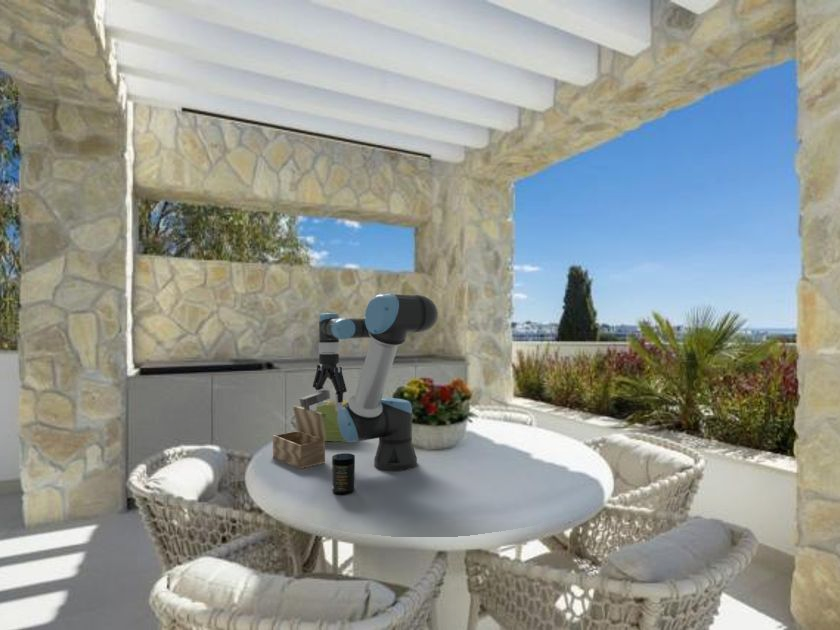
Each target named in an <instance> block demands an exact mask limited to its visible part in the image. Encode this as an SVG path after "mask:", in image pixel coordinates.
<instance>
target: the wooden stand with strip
mask: <svg viewBox="0 0 840 630" xmlns="http://www.w3.org/2000/svg"><path fill="white" fill-rule="evenodd" d="M329 399H331V394H330V390H326V389H323V391H320V392H317V393H316V392H315V393H311V394H309V395H306V396H303V397H300V398H299V402H300V406H297V405H292V407H293V412H294V419H295V424H296V431H299V432H302V433H305V434H308V435H310V436H313V437H317V438H320V439H323V440H327V439H326V433H325V428H324V422H323V416H322V413H320V412H317V410H316V411H315V410H311V409H310V407H311V406H313V405H316V403H319V402H321V401H328V400H329Z"/></svg>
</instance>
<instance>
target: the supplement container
mask: <svg viewBox="0 0 840 630" xmlns="http://www.w3.org/2000/svg"><path fill="white" fill-rule="evenodd" d="M355 462H356V456H355V454H353V453H348V452H345V453H337V454H334V455H333V456H331V465H332V466H331V470H332V471H331V473H332V475H331V476H332V477H331V481H332V483H331V484H332V485H331V488H332V489H331V490H332V493H333V494H334V495H339V496H345V495H350V494H352V493H353V492H354V491H355V489H356V488H355V487H356V476H355V475H356V474H355V470H356V469H355V468H356V467H355V465H356V463H355Z"/></svg>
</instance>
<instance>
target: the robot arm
mask: <svg viewBox="0 0 840 630" xmlns="http://www.w3.org/2000/svg"><path fill="white" fill-rule="evenodd" d="M438 313H439V312H438V308H437V305H436V304H435V303H434V301H433V300H431V299H430V298H429V297H426V296H424V295H420V294H393V293H383V294H382V293H381V294H377V295H375V296H373V297H372V298H371V299H370V300H369V302H368V304H367V306H366V308H365V313H364V318H360V317H359V318H353V317H352V318H348V317H344V318H343V317H340V316H339V314H338V313H334V312H332V313H320V315H319V318H318V340H319V341H318V353H319V354H318V363H319V364H317V365H316V371H315V372H316V373H315V374H314V375H315V376H314V379H313V383H312V387H313V388H314V389H315V393H317V392H320V391H323V390H324V385H325V383H326V381H327V379H329V380H330V381H331V383H332V385H333V387H334V390H335V393H334V395H335V399H334V401H335V411H336V412H337V411H338V426H339V430H340V433H341V435H342V437H343V439H344V440H345V441H347V442H346V443H359V442H363V441H369V440H376V439H378V445H377V449H376V453H375V456H374V458H373V465H374V467H375V468H377V469H378V470H381V471H387V472H398V471H400V472H401V470H402V471H407V469H408V470H411V469H414V468H415V467H417V466H418V457H417V455H416V451H415V448H414V444H413V408H412V407H413V406H412V403H411V401H409V400H406V399H403V398H395V397H394V398H393V397H383V395H384V392H385V388H386V385H387V382H388V379H389V376H390V373H391V370H392V366H393V363H394V360H395V358H396V354H397V351H398V347H399V346H401V345H403V344H404V343H405V341H406V339H407V335H408V334H410V333H411V334H413V333H423V332H427V331H429V330H430V329H432V328H433V327H434V326H435V325H436V323H437V322H438V321H437V320H438V317H439V316H438V315H439V314H438ZM347 339H370V341H369V342H370V343H369V345H368V350H367V353H366V356H365V360H364V363H363V366H362V367H363V368H362V370H361V373H360V378H359V381H358V385H357V388H356V390H355V394H354V395H352V396H351V397H350V398H349V399H348V401H349V402H348V405H347V407H343V401H344V393H347V391H348V390H347V387H346V382H345V378H344V375H343V371H342V370H343V369H342V366H337V365H338V364H339V362H340V354H339V352H340V349H339V348H340V343H339V342H340V340H347ZM315 405H316V406H315V407H316V408H317V407H319V406H323V401H321V402H319V403H316V404H315Z"/></svg>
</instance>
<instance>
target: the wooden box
mask: <svg viewBox="0 0 840 630" xmlns="http://www.w3.org/2000/svg"><path fill="white" fill-rule="evenodd" d="M272 457H273V458H274V459H277V460H280V461H281V462H284V463H286V464H287V465H290V466H292V467H294V466H295V468H296V467H297V469H299V470H301V469H300V468H302V469H305V468H304V467H306V468H309V467H308V466H310V467H313V466H312V465H314V466H317V465H316V464H318V465H321V464H320V463H323V464H325V463H326V442H325V440H322V439H319V438H316V437H314V436H311V435H308V434H305V433H302V432H299V431H297V430H295V431H290V432H285V433H280V434H273V435H272ZM324 462H325V463H324Z"/></svg>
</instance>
